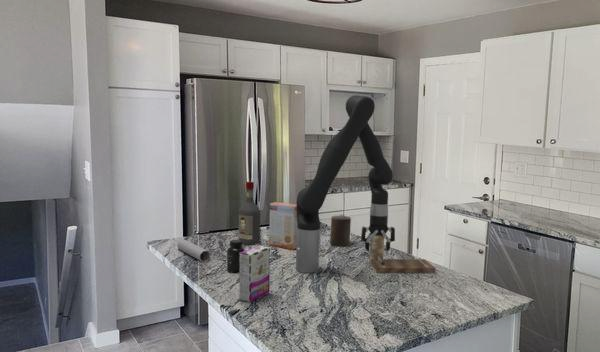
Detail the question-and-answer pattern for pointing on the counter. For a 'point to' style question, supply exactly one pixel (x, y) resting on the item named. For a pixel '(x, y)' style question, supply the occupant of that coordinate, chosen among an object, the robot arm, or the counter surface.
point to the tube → (194, 250)
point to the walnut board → (402, 266)
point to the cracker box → (283, 225)
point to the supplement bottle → (234, 256)
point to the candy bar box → (254, 273)
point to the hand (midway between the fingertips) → (377, 250)
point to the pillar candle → (340, 231)
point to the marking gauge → (377, 248)
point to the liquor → (249, 218)
